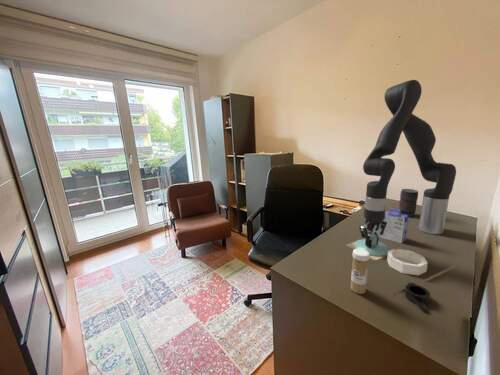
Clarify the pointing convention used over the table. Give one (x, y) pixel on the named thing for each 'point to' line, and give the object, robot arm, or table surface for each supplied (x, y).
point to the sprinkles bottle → (359, 270)
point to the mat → (369, 255)
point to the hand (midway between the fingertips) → (371, 245)
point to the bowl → (407, 261)
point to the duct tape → (417, 295)
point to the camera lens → (408, 202)
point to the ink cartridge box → (395, 226)
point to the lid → (373, 247)
